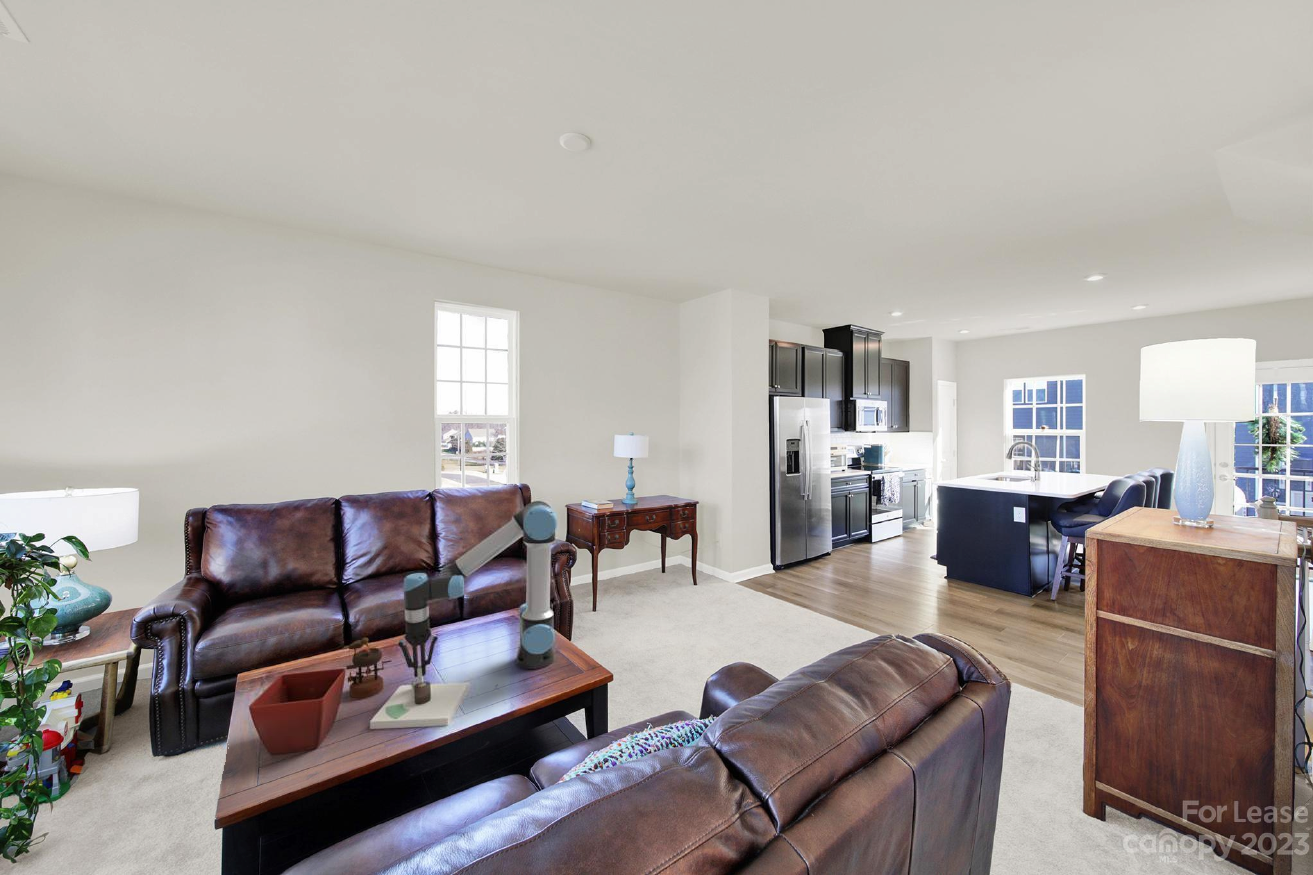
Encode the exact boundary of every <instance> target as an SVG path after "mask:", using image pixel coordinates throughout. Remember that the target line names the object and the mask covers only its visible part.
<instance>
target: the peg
mask: <svg viewBox="0 0 1313 875" xmlns="http://www.w3.org/2000/svg"><path fill="white" fill-rule="evenodd" d="M430 684H431V683H430V681H423V682H421V683H418V680H417V679H414V680H411V685H412V689H413V690H414V700H415V703H416V704H424V703H427V702H428V701H430V699H431V688H430Z"/></svg>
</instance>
